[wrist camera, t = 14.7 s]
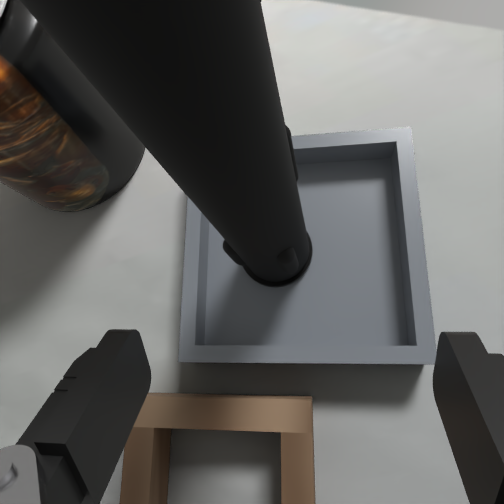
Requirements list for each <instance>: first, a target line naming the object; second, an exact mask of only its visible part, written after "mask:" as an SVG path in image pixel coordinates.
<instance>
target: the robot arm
mask: <svg viewBox="0 0 504 504" xmlns="http://www.w3.org/2000/svg"><path fill="white" fill-rule="evenodd" d="M63 377H64V378H63V380H61V381H60V382H59V383H58V385H57V386H56V388H55V389H54V390H55V391H54V393H51V395H50V396H49V398H48V399H47V401H46V402H45V403H44V405H43V406H42V408H41V409H40V411H39V412H38V413H37V415H36V416H35V418H34V419H33V421H32V422H31V423H30V425H29V426H28V428H27V429H26V431H25V432H24V433H23V435H22V436H21V438H20V439H19V441H18V442H17V443H16V444H15V445H12V446H8V447H5V448H2V449H0V504H99V503H100V501H101V499H102V497H103V494H104V492H105V490H106V488H107V485H108V483H109V481H110V478H111V476H112V474H113V472H114V469H115V467H116V465H117V462H118V460H119V458H120V456H121V453H122V451H123V449H124V447H125V444H126V442H127V440H128V437H129V435H130V433H131V431H132V428H133V426H134V424H135V421H136V419H137V417H138V415H139V412H140V410H141V408H142V406H143V403H144V401H145V399H146V396H147V394H148V392H149V389H150V384H151V370H150V366H149V362H148V359H147V356H146V352H145V349H144V346H143V342H142V339H141V336H140V333H139V332H138V331H137V330H122V329H111V330H108V331H107V332H106V334H105V335H104V337H103V338H102V340H101V341H100V343H99V344H98V346H97V347H96V348H90V349H88V350H87V351H86V352H85V353H83V354H82V355H81V356H80V357H79V358H77V359H76V360H75V361H74V362H73V363H72V365H71V366H70V368H69V369H68V371H67V372H66V373H65V375H64V376H63ZM433 391H434V397H435V401H436V404H437V407H438V410H439V413H440V416H441V419H442V422H443V425H444V428H445V431H446V434H447V437H448V440H449V443H450V446H451V449H452V452H453V455H454V458H455V461H456V464H457V467H458V470H459V473H460V476H461V479H462V482H463V485H464V488H465V491H466V494H467V497H468V499H469V502H470V504H504V356H503V355H502V354H488V353H487V351H486V349H485V347H484V345H483V343H482V342H481V340H480V338H479V336H478V335H477V334H476V333H475V332H441V334H440V336H439V341H438V347H437V354H436V360H435V366H434V372H433Z"/></svg>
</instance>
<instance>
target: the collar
mask: <svg viewBox="0 0 504 504" xmlns="http://www.w3.org/2000/svg"><path fill="white" fill-rule="evenodd" d="M171 428H176V429H205V430H233V431H262V432H281V504H315V472H314V439H313V406H312V396H282V395H234V394H186V393H148V394H147V396H146V399H145V401H144V403H143V406H142V408H141V410H140V412H139V415H138V417H137V419H136V421H135V424H134V426H133V428H132V431H131V433H130V435H129V437H128V440H127V442H126V444H125V448H124V459H123V471H122V482H121V494H120V504H167V495H168V478H169V461H170V444H171Z"/></svg>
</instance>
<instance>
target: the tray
mask: <svg viewBox="0 0 504 504" xmlns="http://www.w3.org/2000/svg"><path fill="white" fill-rule="evenodd" d="M291 137H292V143H293V148H294V154H295V159H296V165H297V170H298V181H297V187H298V192H299V197H300V202H301V207H302V212H303V217H304V222H305V227H306V231H307V232H308V234H309V236H310V239H311V242H312V248H313V254H312V260H311V263H310V265H309V267H308V269H307V271H306V272H305V273H304V275H303V276H302V277H301V278H299V279H298V280H297V281H295V282H294V283H292V284H289V285H287V286H283V287H268V286H264V285H261V284H259V283H257V282H256V281H254V280H253V279H252V278H251V277H250V276H249V275H248V274H247V273H246V271H245V270H244V268H243V266H241V265H238V264H236V263H235V262H234V261H233V260H232V259H231V258H230V257H229V256H228V255H227V254H226V253H225V251H224V250H223V241H224V240H225V239H224V238H223V237H222V236H221V235H220V233H219V232H218V231H217V230H216V229H215V228H214V226H213V225H212V224H211V223H210V222H209V221H208V219H207V218H206V217H205V216H204V215H203V214H202V212H201V211H200V210H199V209H198V208H197V207H196V205H195V204H194V203H193V202H192V201H191V200H190V198H189V197H188V199H187V216H186V234H185V251H184V269H183V286H182V304H181V321H180V339H179V356H178V362H190V363H300V364H421V365H426V364H435V360H436V354H437V352H436V343H435V334H434V325H433V316H432V307H431V299H430V290H429V281H428V272H427V263H426V254H425V245H424V237H423V228H422V219H421V210H420V201H419V192H418V183H417V175H416V166H415V157H414V148H413V139H412V130H411V127H400V128H388V129H375V130H363V131H350V132H337V133H325V134H312V135H300V136H291Z"/></svg>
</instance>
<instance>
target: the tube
mask: <svg viewBox="0 0 504 504" xmlns="http://www.w3.org/2000/svg"><path fill="white" fill-rule="evenodd" d="M20 1H21V3H22V4H23V5H24V6H25V7H26V8H27V10H28V11H29V12H30V13H31V14H32V15H33V17H34V18H35V19H36V20H37V21H38V22H39V23H40V25H41V26H42V27H43V28H44V29H45V30H46V32H47V33H48V34H49V35H50V36H51V37H52V39H53V40H54V41H55V42H56V43H57V44H58V46H59V47H60V48H61V49H62V50H63V51H64V53H65V54H66V55H67V56H68V57H69V58H70V60H71V61H72V62H73V63H74V64H75V65H76V67H77V68H78V69H79V70H80V71H81V72H82V74H83V75H84V76H85V77H86V78H87V79H88V81H89V82H90V83H91V84H92V85H93V86H94V88H95V89H96V90H97V91H98V92H99V93H100V95H101V96H102V97H103V98H104V99H105V100H106V102H107V103H108V104H109V105H110V106H111V107H112V109H113V110H114V111H115V112H116V113H117V114H118V116H119V117H120V118H121V119H122V120H123V121H124V123H125V124H126V125H127V126H128V127H129V128H130V130H131V131H132V132H133V133H134V134H135V135H136V137H137V138H138V139H139V140H140V141H141V142H142V144H143V145H144V146H145V147H146V148H147V149H148V151H149V152H150V153H151V154H152V155H153V156H154V158H155V159H156V160H157V161H158V162H159V163H160V165H161V166H162V167H163V168H164V169H165V170H166V172H167V173H168V174H169V175H170V176H171V177H172V179H173V180H174V181H175V182H176V183H177V184H178V186H179V187H180V188H181V189H182V190H183V191H184V193H185V194H186V195H187V196H188V197H189V198H190V200H191V201H192V202H193V203H194V204H195V205H196V207H197V208H198V209H199V210H200V211H201V212H202V214H203V215H204V216H205V217H206V218H207V219H208V221H209V222H210V223H211V224H212V225H213V226H214V228H215V229H216V230H217V231H218V232H219V233H220V235H221V236H222V237H223V238H224V239H225V240H224V241H223V250H224V251H225V253H226V254H227V255H228V256H229V257H230V258H231V259H232V260H233V261H234V262H235V263H236V264H238V265H241V266H243V268H244V270H245V271H246V273H247V274H248V275H249V276H250V277H251V278H252V279H253V280H254V281H256V282H257V283H259V284H261V285H264V286H268V287H283V286H287V285H289V284H292V283H294V282H295V281H297V280H298V279H299V278H301V277H302V276H303V275H304V273H305V272H306V271H307V269H308V267H309V265H310V263H311V260H312V254H313V248H312V242H311V239H310V236H309V234H308V232H307V231H306V227H305V222H304V217H303V212H302V207H301V202H300V197H299V192H298V187H297V181H298V170H297V165H296V159H295V154H294V148H293V143H292V137H291V132H290V130H289V128H288V127H287V126H286V125H285V122H284V117H283V112H282V107H281V102H280V97H279V92H278V87H277V82H276V77H275V72H274V67H273V62H272V57H271V52H270V47H269V42H268V37H267V32H266V27H265V22H264V17H263V12H262V7H261V0H20Z"/></svg>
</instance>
